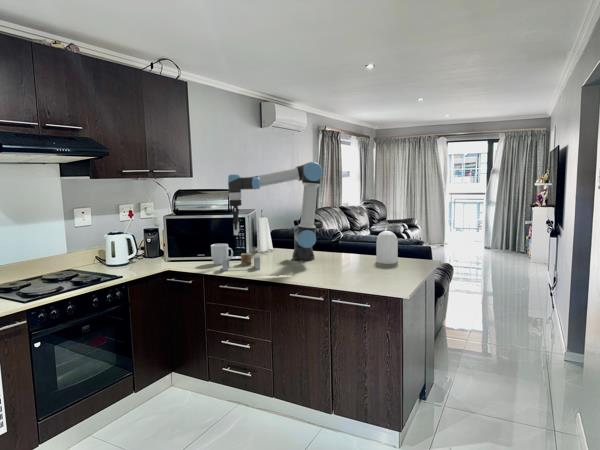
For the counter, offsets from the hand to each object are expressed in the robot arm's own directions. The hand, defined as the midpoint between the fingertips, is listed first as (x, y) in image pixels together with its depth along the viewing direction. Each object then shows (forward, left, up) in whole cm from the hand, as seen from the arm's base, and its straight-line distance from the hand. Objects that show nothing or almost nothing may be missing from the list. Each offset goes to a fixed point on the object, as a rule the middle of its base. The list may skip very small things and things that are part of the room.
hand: (236, 233), depth 259 cm
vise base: (-2, +13, -21) cm, 25 cm away
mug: (+11, -8, -21) cm, 25 cm away
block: (-5, +1, -21) cm, 22 cm away
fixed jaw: (+7, +13, -20) cm, 25 cm away
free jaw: (-12, +13, -20) cm, 27 cm away
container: (-95, +5, -21) cm, 98 cm away
